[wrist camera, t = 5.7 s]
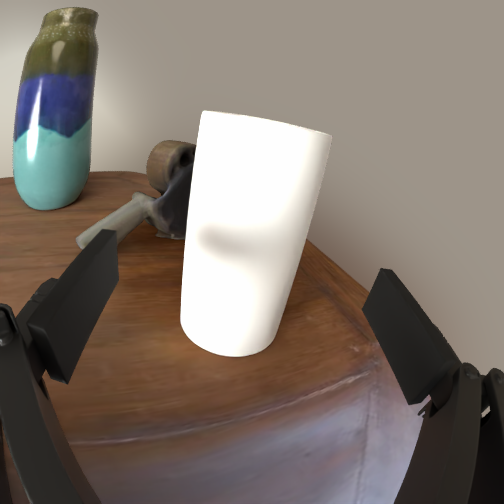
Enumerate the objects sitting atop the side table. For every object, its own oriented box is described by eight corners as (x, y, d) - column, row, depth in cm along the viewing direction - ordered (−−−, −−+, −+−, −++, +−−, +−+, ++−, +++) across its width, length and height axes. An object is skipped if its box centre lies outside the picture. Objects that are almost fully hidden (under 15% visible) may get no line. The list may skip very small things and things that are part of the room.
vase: (90, 213, 36) (115, 0, 22) (7, 222, 29) (22, 8, 15) (90, 186, 46) (110, 24, 32) (25, 192, 39) (39, 28, 25)
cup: (209, 281, 28) (236, 113, 21) (287, 311, 26) (338, 136, 19) (160, 327, 21) (174, 107, 14) (256, 372, 19) (324, 134, 12)
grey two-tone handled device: (90, 281, 24) (84, 159, 19) (67, 255, 27) (61, 149, 21) (221, 226, 41) (236, 145, 35) (191, 212, 43) (202, 136, 37)
